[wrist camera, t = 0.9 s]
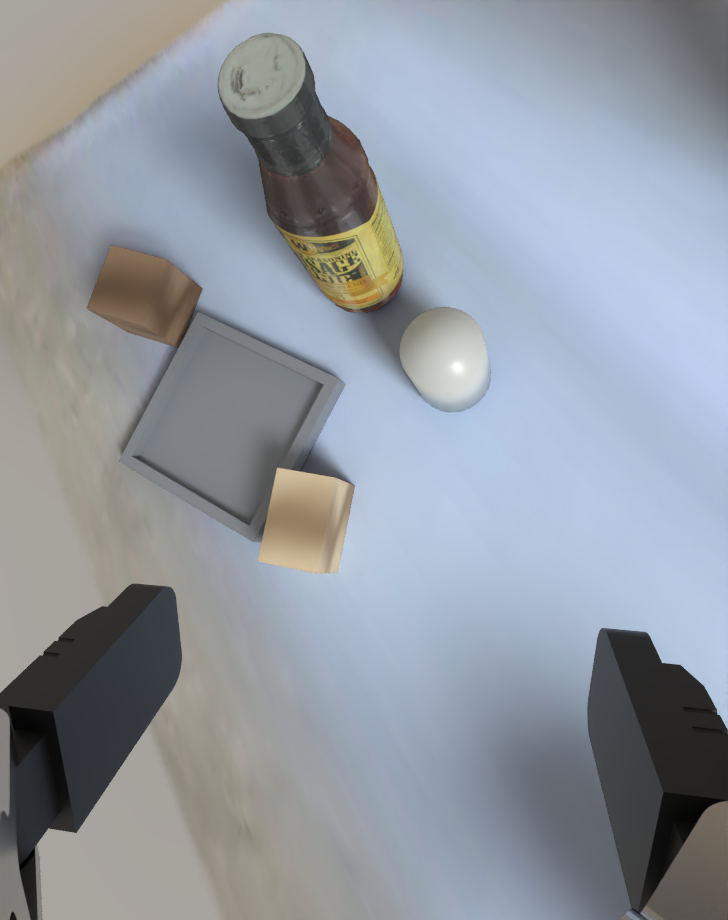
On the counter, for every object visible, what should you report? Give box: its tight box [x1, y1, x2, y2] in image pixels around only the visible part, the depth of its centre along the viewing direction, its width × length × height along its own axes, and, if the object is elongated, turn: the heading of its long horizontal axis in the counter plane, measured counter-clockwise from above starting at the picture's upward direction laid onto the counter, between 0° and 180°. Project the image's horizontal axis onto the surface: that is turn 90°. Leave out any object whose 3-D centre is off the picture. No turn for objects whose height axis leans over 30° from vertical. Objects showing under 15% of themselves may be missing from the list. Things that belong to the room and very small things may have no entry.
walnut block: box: [86, 245, 202, 348], centre depth 47 cm, size 5×5×5 cm
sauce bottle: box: [218, 33, 403, 312], centre depth 35 cm, size 6×6×20 cm
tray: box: [119, 312, 345, 543], centre depth 45 cm, size 13×13×2 cm
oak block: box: [258, 468, 355, 574], centre depth 41 cm, size 6×4×4 cm, turn 169°
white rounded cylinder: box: [399, 307, 491, 412], centre depth 39 cm, size 5×5×6 cm
